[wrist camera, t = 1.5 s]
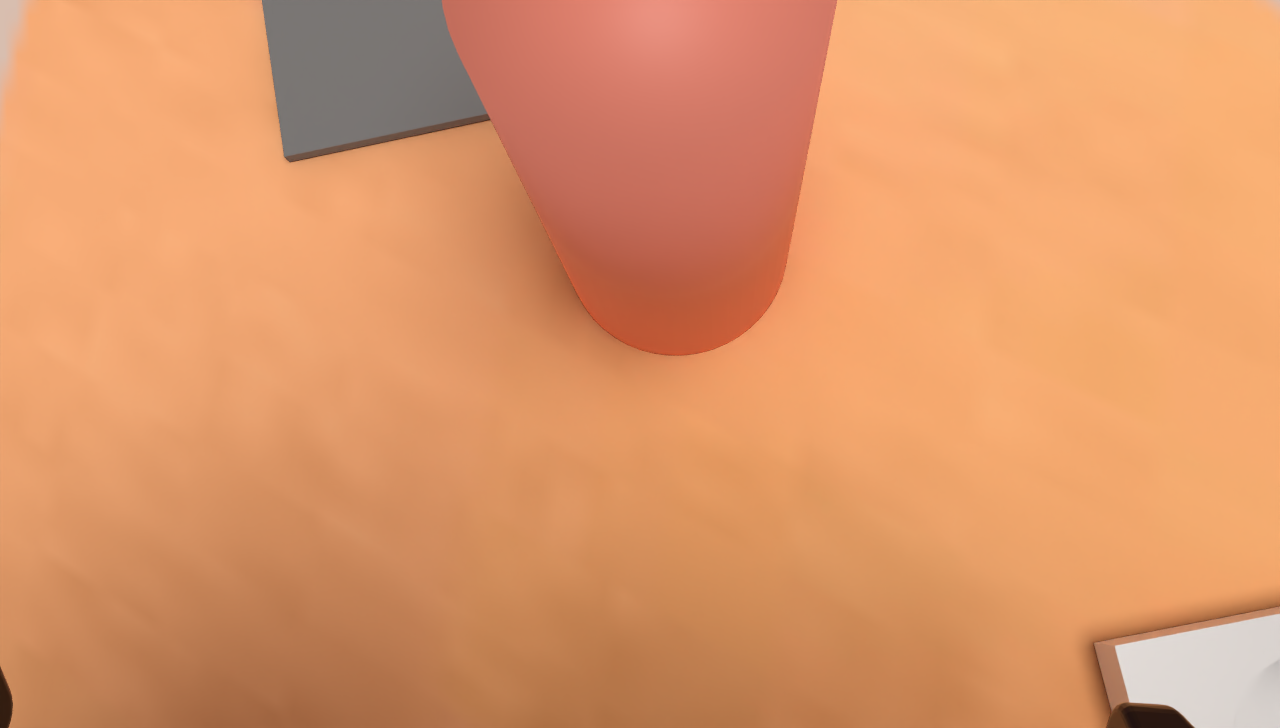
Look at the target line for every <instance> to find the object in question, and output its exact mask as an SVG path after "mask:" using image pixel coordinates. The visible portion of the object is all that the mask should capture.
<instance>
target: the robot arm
mask: <svg viewBox="0 0 1280 728" xmlns="http://www.w3.org/2000/svg"><path fill="white" fill-rule="evenodd" d="M12 708H13V702H12V695H11V691H10V689H9V686H8V684H7V681H6V679H5V677H4V674H3V672H2V669H1V667H0V728H8V727H9V724H10V721H11V716H12ZM1106 728H1195V727H1194V726H1193V725H1192V724H1191V723H1190V722H1189V721H1188V720H1187V719H1186V718H1185V717H1184V716H1183V715H1182V714H1181V713H1180V712H1179V711H1177V710H1176V709H1174V708H1173V707H1170V706H1168V705H1162V704H1147V703H1132V702H1123V703H1119V704H1118V705H1116V706H1115V708H1114V709H1113V710H1112V712H1111V715H1110V717H1109V721H1108V724H1107V727H1106Z"/></svg>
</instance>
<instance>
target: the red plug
mask: <svg viewBox="0 0 1280 728" xmlns="http://www.w3.org/2000/svg"><path fill="white" fill-rule="evenodd" d="M836 4H837V0H442V6H443V11H444V15H445V19H446V23H447V27H448V31H449V33H450V36H451V38H452V41H453V43H454V45H455V48H456V50H457V53H458V55H459V57H460V59H461V61H462V63H463V65H464V67H465V69H466V71H467V73H468V75H469V77H470V79H471V81H472V83H473V85H474V87H475V89H476V91H477V93H478V95H479V97H480V99H481V101H482V103H483V105H484V107H485V109H486V111H487V113H488V115H489V117H490V119H491V121H492V123H493V125H494V127H495V129H496V131H497V133H498V136H499V138H500V140H501V142H502V144H503V146H504V148H505V150H506V152H507V154H508V156H509V158H510V160H511V162H512V164H513V166H514V168H515V170H516V172H517V174H518V176H519V178H520V180H521V182H522V184H523V186H524V188H525V190H526V192H527V194H528V196H529V198H530V200H531V202H532V204H533V206H534V208H535V210H536V212H537V214H538V216H539V218H540V220H541V222H542V224H543V226H544V228H545V230H546V232H547V234H548V236H549V238H550V240H551V242H552V244H553V246H554V248H555V250H556V252H557V254H558V257H559V259H560V261H561V263H562V265H563V267H564V269H565V271H566V273H567V275H568V277H569V279H570V281H571V283H572V285H573V287H574V289H575V291H576V293H577V295H578V297H579V298H580V300H581V302H582V304H583V305H584V307H585V309H586V310H587V311H588V313H589V314H590V315H591V316H592V318H593V319H594V320H595V321H596V322H597V323H598V324H599V325H600V326H601V327H602V328H603V329H604V330H606V331H607V332H608V333H610V334H611V335H612V336H614V337H615V338H617V339H618V340H620V341H622V342H624V343H626V344H627V345H630V346H632V347H635V348H637V349H640V350H643V351H647V352H651V353H655V354H663V355H689V354H697V353H701V352H705V351H709V350H712V349H715V348H717V347H720V346H722V345H725V344H727V343H729V342H730V341H732V340H734V339H736V338H737V337H739V336H740V335H742V334H743V333H744V332H746V331H747V330H748V329H749V328H751V327H752V326H753V325H754V324H755V323H756V322H757V321H758V320H759V319H760V318H761V317H762V315H763V314H764V313H765V311H766V310H767V309H768V307H769V306H770V305H771V303H772V301H773V299H774V298H775V296H776V294H777V292H778V289H779V287H780V285H781V282H782V279H783V275H784V271H785V267H786V263H787V257H788V252H789V247H790V242H791V237H792V231H793V226H794V221H795V216H796V211H797V206H798V200H799V195H800V190H801V185H802V180H803V174H804V169H805V164H806V159H807V154H808V149H809V143H810V138H811V133H812V128H813V123H814V117H815V112H816V107H817V102H818V97H819V92H820V86H821V81H822V76H823V71H824V66H825V60H826V55H827V50H828V45H829V40H830V35H831V29H832V24H833V19H834V14H835V9H836Z"/></svg>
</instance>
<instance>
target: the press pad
mask: <svg viewBox="0 0 1280 728" xmlns="http://www.w3.org/2000/svg"><path fill="white" fill-rule="evenodd" d="M262 4H263V11H264V18H265V25H266V32H267V39H268V46H269V53H270V60H271V67H272V74H273V81H274V88H275V95H276V102H277V109H278V116H279V123H280V130H281V137H282V144H283V151H284V157H285V158H286V159H287V160H288V161H289V162H292V161H296V160H301V159H306V158H311V157H315V156H320V155H325V154H329V153H334V152H339V151H344V150H348V149H353V148H358V147H362V146H367V145H372V144H377V143H381V142H386V141H391V140H395V139H400V138H405V137H410V136H414V135H419V134H424V133H428V132H433V131H438V130H443V129H447V128H452V127H457V126H461V125H466V124H471V123H476V122H480V121H485V120H490V117H489V115H488V113H487V111H486V109H485V107H484V105H483V103H482V101H481V99H480V97H479V95H478V93H477V91H476V89H475V87H474V85H473V83H472V81H471V79H470V77H469V75H468V73H467V71H466V69H465V67H464V65H463V63H462V61H461V59H460V57H459V55H458V53H457V50H456V48H455V45H454V43H453V41H452V38H451V36H450V33H449V31H448V27H447V23H446V19H445V15H444V11H443V6H442V0H262Z"/></svg>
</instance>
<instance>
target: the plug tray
mask: <svg viewBox="0 0 1280 728" xmlns="http://www.w3.org/2000/svg"><path fill="white" fill-rule="evenodd" d="M1094 647H1095V650H1096V654H1097V658H1098V662H1099V666H1100V669H1101V673H1102V677H1103V681H1104V685H1105V688H1106V692H1107V696H1108V700H1109V704H1110V707H1111V711H1112V710H1113V709H1114V708H1115V706H1116V705H1118V704H1119V703H1123V702H1132V703H1147V704H1162V705H1168V706H1170V707H1173V708H1174V709H1176V710H1177V711H1179V712H1180V713H1181V714H1182V715H1183V716H1184V717H1185V718H1186V719H1187V720H1188V721H1189V722H1190V723H1191V724H1192V725H1193V726H1194V727H1195V728H1280V607H1274V608H1269V609H1264V610H1259V611H1254V612H1249V613H1244V614H1239V615H1233V616H1228V617H1223V618H1218V619H1213V620H1208V621H1203V622H1198V623H1192V624H1187V625H1182V626H1177V627H1172V628H1167V629H1162V630H1157V631H1152V632H1146V633H1141V634H1136V635H1131V636H1126V637H1121V638H1116V639H1111V640H1105V641H1100V642H1095V643H1094Z"/></svg>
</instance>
